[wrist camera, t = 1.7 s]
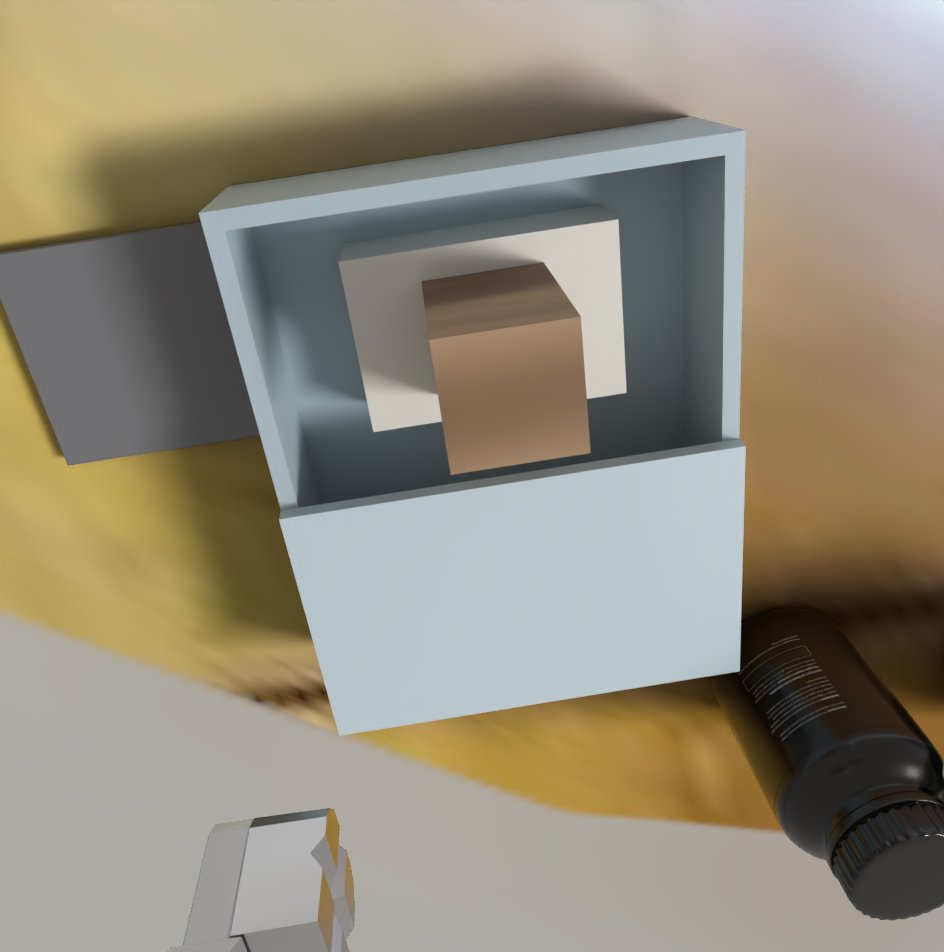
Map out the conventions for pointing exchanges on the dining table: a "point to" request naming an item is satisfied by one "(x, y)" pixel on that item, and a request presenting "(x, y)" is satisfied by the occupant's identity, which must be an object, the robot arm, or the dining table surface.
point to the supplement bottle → (839, 760)
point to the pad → (128, 342)
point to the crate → (517, 486)
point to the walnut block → (507, 367)
